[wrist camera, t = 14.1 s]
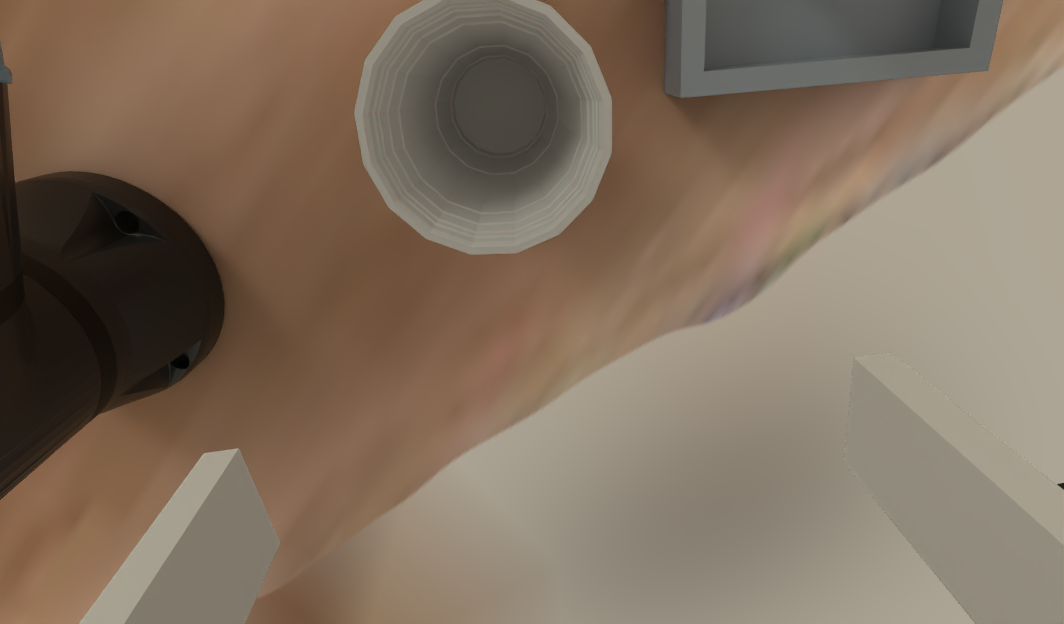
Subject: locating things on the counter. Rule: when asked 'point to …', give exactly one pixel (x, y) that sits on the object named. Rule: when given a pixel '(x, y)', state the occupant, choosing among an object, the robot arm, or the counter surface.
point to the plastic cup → (484, 122)
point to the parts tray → (820, 42)
